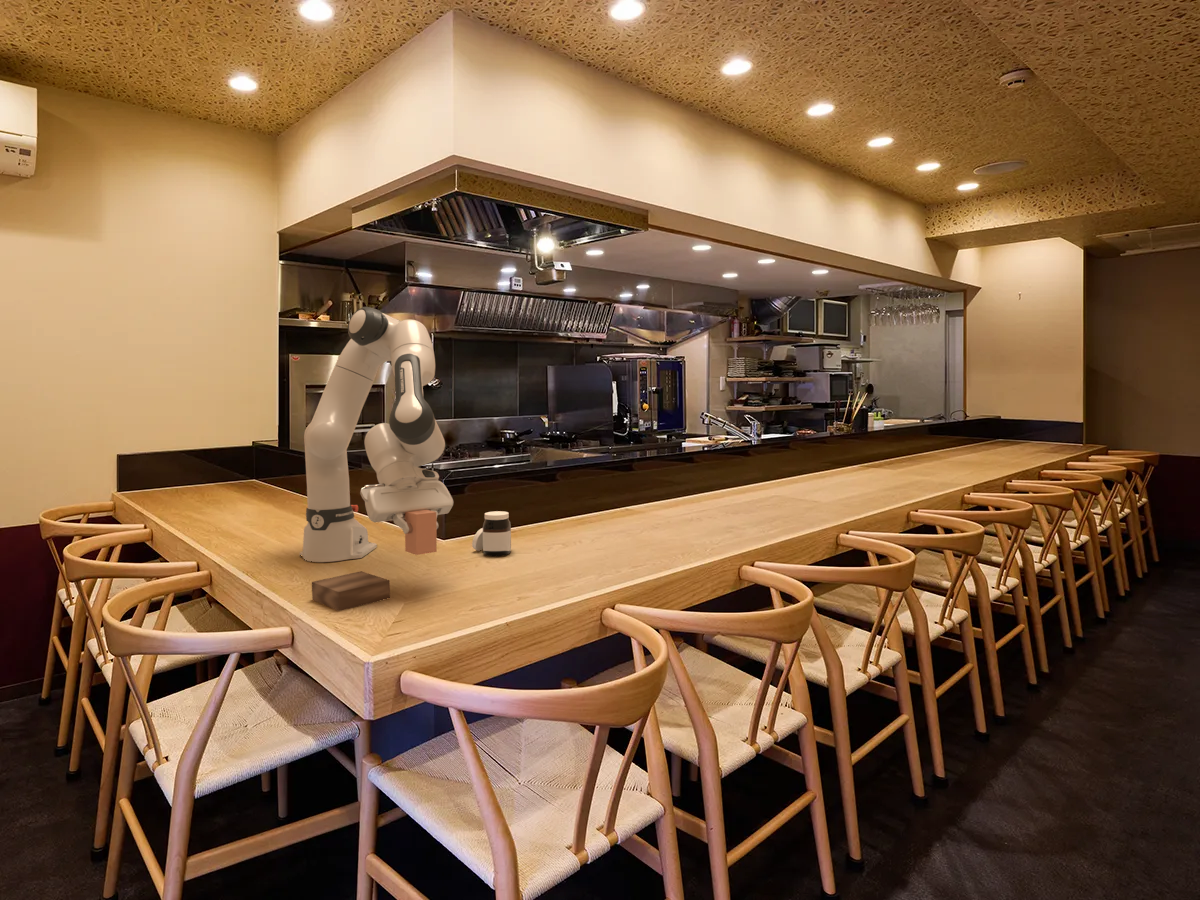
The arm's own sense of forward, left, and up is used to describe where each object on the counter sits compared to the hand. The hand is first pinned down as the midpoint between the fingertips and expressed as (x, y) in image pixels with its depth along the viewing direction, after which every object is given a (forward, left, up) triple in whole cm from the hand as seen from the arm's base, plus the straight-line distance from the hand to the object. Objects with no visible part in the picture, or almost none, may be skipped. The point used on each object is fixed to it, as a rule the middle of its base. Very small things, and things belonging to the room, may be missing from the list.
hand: (422, 530), depth 155 cm
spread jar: (-43, +1, -15) cm, 46 cm away
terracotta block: (0, -1, -5) cm, 5 cm away
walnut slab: (+5, -15, -15) cm, 22 cm away
